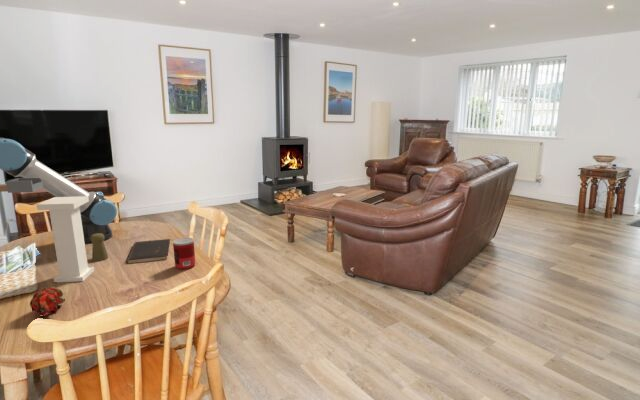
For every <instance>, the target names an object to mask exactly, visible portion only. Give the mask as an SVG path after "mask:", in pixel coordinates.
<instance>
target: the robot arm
mask: <svg viewBox="0 0 640 400" xmlns="http://www.w3.org/2000/svg"><path fill="white" fill-rule="evenodd" d="M0 170H1V171H3V172H5V173H7V174H8V175H10V176H13V177H14V178H42V181H43V187H44V188H43V189H42V190H44V191H46V192H48V193H49V194H51V195H52V196H54V197H79V196H88V199H89V202H87V203H85V204H83V205H81V206H79V207H80V214H81V221H82V228H83V235H84V242H85V244H88V243H89V244H91V243H92V244H93V242H92V241H91V239H90V238H91V235H93V234H96V233H102V234H103V235H104V241H107V240H109V239H111V238H112V237H113V231H112V229H111V227H110V225H109V224H111V223H112V222H114V220H115V219H116V217H117V215H118V208H117V205H116V204H114V202H113V201H111V200H108V199H106V198H105V195H104V193H103V192H102V191H87V190H86V189H84V188H82V187H81V186H79V185H77V184H76V183H75V182H72V181H71V180H70V179H68V178H66V177H65V176H63V175H61V174H60V173H59V172H57V171H55V170H54V169H52V168H50V167H48V166H47V165H45V164H44V163H43V162H41V161H39V160H38V159H37V157H36V154H35V153H33V152H32V151H31V150H29V149H27V148H26V147H24V146H23V145H22V144H21V143H19V142H18V141H16V140H14V139H11V138H6V137H0Z"/></svg>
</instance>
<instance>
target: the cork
mask: <svg viewBox="0 0 640 400" xmlns="http://www.w3.org/2000/svg"><path fill="white" fill-rule="evenodd" d="M90 239H91V241H92V245H91V246H92V247H91V249H92V253H91V255H92V256H91V257H92V260H91V261H92V262H93V261H94V262H101V261H104V260H107V259H108V258H109V256H108V252H107V248H106V244H105V242H104V241H105V240H104V235H103V234H102V233H96V234H93V235H91V238H90Z"/></svg>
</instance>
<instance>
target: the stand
mask: <svg viewBox="0 0 640 400" xmlns="http://www.w3.org/2000/svg"><path fill="white" fill-rule="evenodd" d="M87 202H89V199H88V196H79V197H56V196H54V197H52V198H49V199H47V200H44V201H42V202H39V203H37V204H36V209H37V211H47V210H49V217H50V222H51V229H52V236H53V242H54V248H55V253H56V254H55V255H56V260H57V261H56V262H57V266H58V267H57V268H58V275H57V276H55V277H54V278H53V283H54V282H57V283H73V282H84V281H85V280H86V279H87V278H88V277H90V275H92V274H93V272H95V266H89V263H88V259H87V258H88V256H87V250H86V243H85V242H84V235H83V228H82V221H81V214H80V207H79V206H81V205H83V204H85V203H87Z"/></svg>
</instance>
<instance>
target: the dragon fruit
mask: <svg viewBox="0 0 640 400" xmlns="http://www.w3.org/2000/svg"><path fill="white" fill-rule="evenodd" d="M63 296H64V293H63V291H62V290H61V289H59V288H57V287H55V286H50V287H48V288H46V287H43V288H41V291H40V292H35V293H34V294H33V296H32V298H31V299H30V303H29V306H30V308H31V311H32V312H34V313H35V314H36V315H38V316H39V315H43V317H46V316H49V315H51V314H52V312H54V313H57V312H59V310H60V309H61V308H62V306H63V303H65V301H66V299H65V298H63ZM43 317H42V316H39V318H40V319H42V318H43Z"/></svg>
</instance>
